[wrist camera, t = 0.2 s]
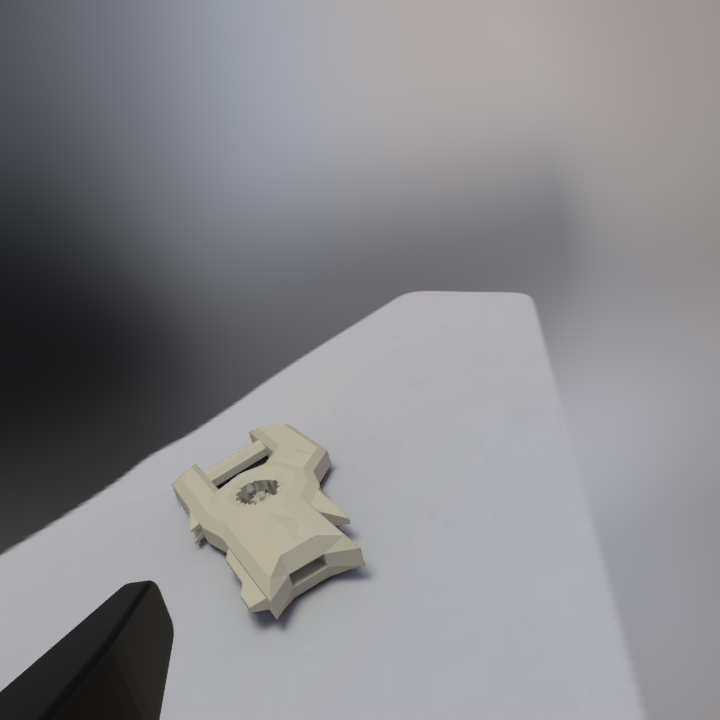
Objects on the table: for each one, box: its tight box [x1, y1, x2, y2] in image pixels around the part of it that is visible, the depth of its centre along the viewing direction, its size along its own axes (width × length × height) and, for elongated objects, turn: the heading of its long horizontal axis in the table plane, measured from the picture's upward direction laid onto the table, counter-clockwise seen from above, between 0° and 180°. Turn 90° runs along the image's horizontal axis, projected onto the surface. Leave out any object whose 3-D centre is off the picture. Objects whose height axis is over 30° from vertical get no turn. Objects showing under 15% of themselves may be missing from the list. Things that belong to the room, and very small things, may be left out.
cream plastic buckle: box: [172, 424, 365, 619], centre depth 39 cm, size 18×4×10 cm
